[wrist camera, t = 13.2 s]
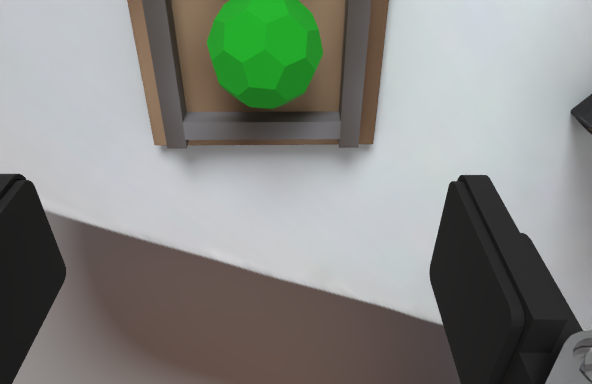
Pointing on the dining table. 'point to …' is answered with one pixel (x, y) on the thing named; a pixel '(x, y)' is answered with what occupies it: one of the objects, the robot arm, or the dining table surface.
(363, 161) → the dining table surface
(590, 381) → the robot arm
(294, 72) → the polyhedron
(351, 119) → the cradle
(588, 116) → the ammunition clip
